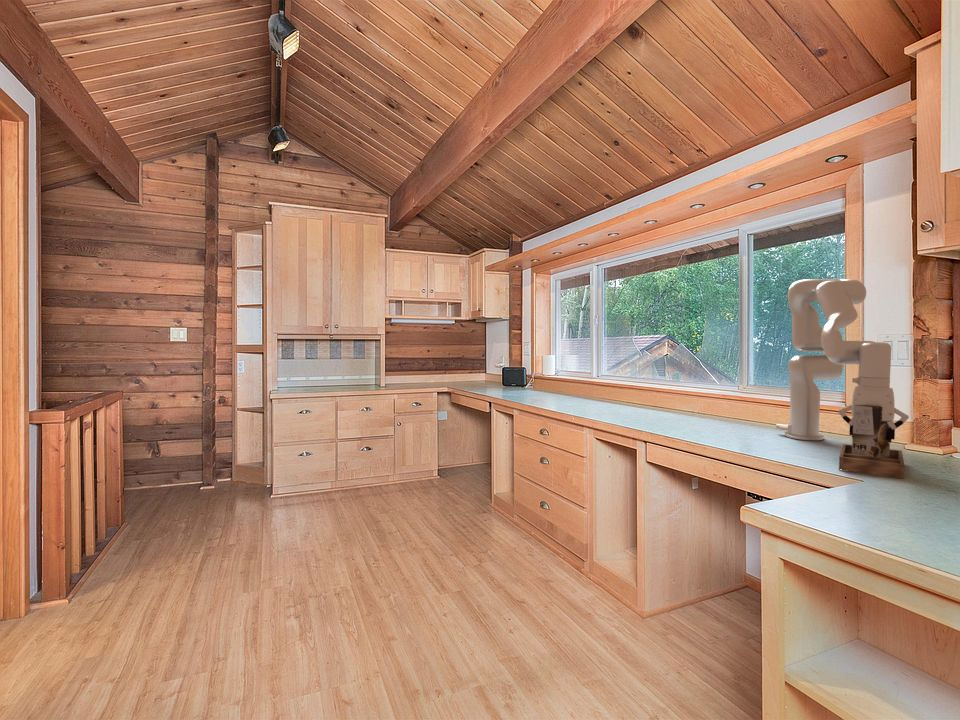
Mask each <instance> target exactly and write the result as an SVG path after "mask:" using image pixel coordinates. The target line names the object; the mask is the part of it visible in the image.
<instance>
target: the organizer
mask: <svg viewBox="0 0 960 720" xmlns="http://www.w3.org/2000/svg"><path fill="white" fill-rule="evenodd" d="M839 469H842V470H848V471H847V472H849V471H854V472H853V473H856V472H858V473H859V474H865V475H871V476H872V475H873V476H877V477H885V478H886V477H887V478H894V479H900V480H901V479H902V480H904V479H905V461H904V455H903V451H902V450H899V449H891V448H890V452H889V457H886V458H880V457H872V456H863V455H855V454H852V444H846V443H843V444H842V446H841V450H840V453H839V457H838V470H839ZM858 473H857V474H858Z"/></svg>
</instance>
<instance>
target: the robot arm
mask: <svg viewBox="0 0 960 720" xmlns="http://www.w3.org/2000/svg"><path fill="white" fill-rule="evenodd" d="M866 298H867V289H866V287H865V284H864V283H863V282H861V281H860V280H857V279H845V278H809V279H807V278H806V279H800V280H797V281H795V282H793V283H792V284H790V285H789V288H788V293H787V302H788V306H789V309H790V312H791V333H792V335H791V337H792V340H791V341H792V346H793V349H795V350H797V351H799V352H822V354H799V355H794V356H793V357H792V358H790V359H789V361H788V363H787V371H788V375H789V376H788V377H789V385H790V386H789V387H790V389H789V391H790V393H789V395H790V396H789V397H790V398H789V399H790V400H789V423H788V424H778V423H777V424H776V426H775V427H776V429H775V430H778V431H780V430H781V431H784V436H785V437H786V438H789V439H794V440H795V439H796V440H801V441H821V440H822V441H823V440H824V439H825V438H824V435H823V434H820V413H821V412H820V411H821V410H820V409H821V407H820V406H821V392H820V389H819V387H818V386H817V384H816V383H815V381H834V380H838V379H839V378H840V377H841V376H842V375H843V369H844V365H858V377H855V378H852V381H851V382H852V383H854V384H856V385H857V386H854V388H853V394H852V399H851V400H852V401H851V404H850V405H847V406H845V407H843V408H842V409H841V408H840V409H839V410H838V413H839V415H840V416H841V418H842V419H843V420H844V421H845V422H846V423H847V424H848V425H849V434H848V435H849V436H851V438H852V439H853V420H854V405H869V406H880V407H882V421H883V422H887V423H888V425H889V426H890V428H889V432H888V442H890V443H892V440H895V437H896V435H895V433H896V429H897V428H898V429H899V427H901V426H902V425H904V423H905V422H906V421H908V419H909V418H910V417H909V415H908V414H907V413H905V412H903V411H901V410H900V409H897V408H896V406H895V394H894V389H893V388H892V387H890V385H891V384H890V383H891V366H892V365H891V363H892V362H891V361H892V346H891V344H890V343H888V342H884V341H883V342H878V341H877V342H876V341H873V340H844V339H843V336H842V333H841V331H840V329H843V328H845V327H847V326H849V325H850V324H853V323H854V322H855V321H856V320H857V318H858V315H859V314H858V312H857V309H856V307H855V306H854V305H860V304H862V303H863V302H864V300H866ZM811 303H818V304H819V306H820V308H821V310H822V313H823V315H824V317H825V320H826V323H825V324H824V325H820V324H819V323H820V320H819V317H820V315H819V312H818V310H817V309H816V308H815V306H814V305H813V304H811ZM849 411H851V418H850V417H849V415H847V414H846V413H848V412H849ZM895 415H897V416H899V417H900V419H899V420H897V421H896V422H894V418H895Z"/></svg>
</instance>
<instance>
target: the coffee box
mask: <svg viewBox="0 0 960 720" xmlns="http://www.w3.org/2000/svg"><path fill="white" fill-rule="evenodd" d="M889 428H890V426H889V425H888V423H887V422H883V421H882V407H880V406H869V405H854V420H853V438H852V444H851V445H852V454H855V455H863V456H872V457H880V458H886V457H889V452H890V449H891V442H888V432H889Z"/></svg>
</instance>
